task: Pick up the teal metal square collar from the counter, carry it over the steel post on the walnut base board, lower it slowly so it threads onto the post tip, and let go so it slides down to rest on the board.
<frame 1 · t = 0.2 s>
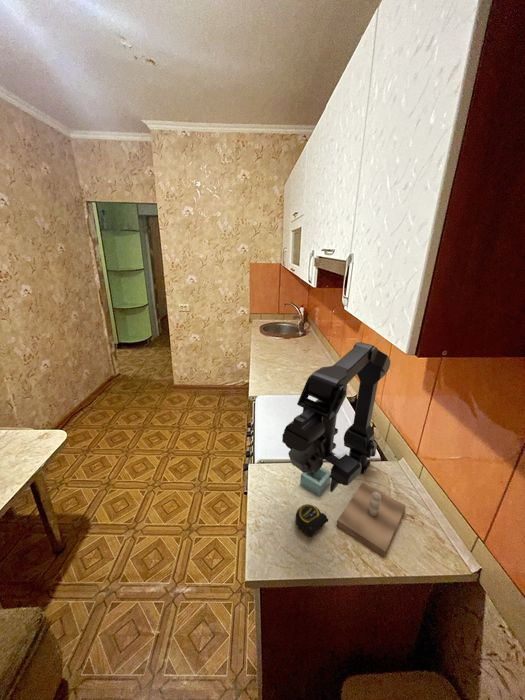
hand: (316, 479, 71), 14 cm above the table, fingers open, 9 cm apart
post board: (371, 518, 77), on the table
tape measure: (311, 526, 75), on the table
collar: (315, 483, 87), on the table
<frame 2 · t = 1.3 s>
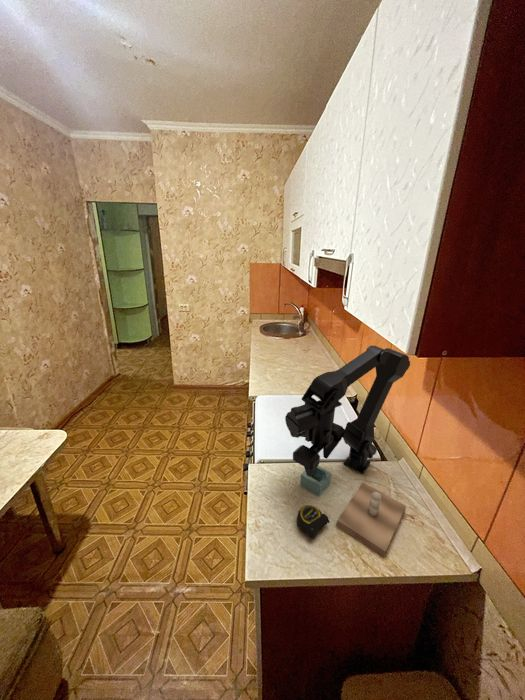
hand: (317, 466, 85), 7 cm above the table, fingers open, 9 cm apart
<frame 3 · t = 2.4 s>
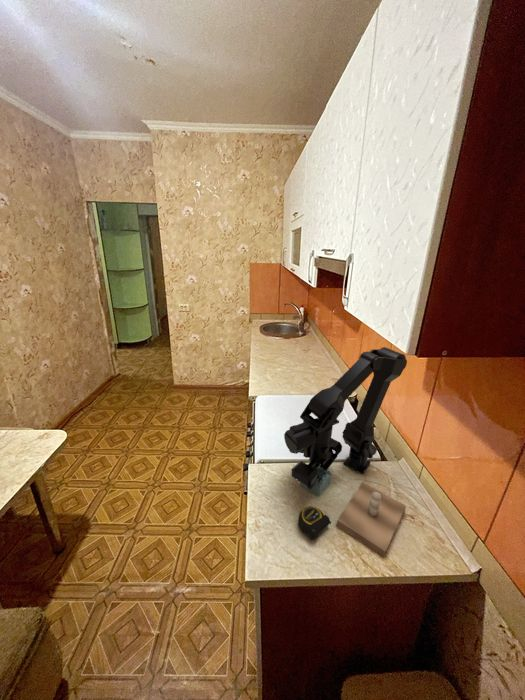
hand: (315, 481, 87), 1 cm above the table, fingers closed on collar, 6 cm apart
collar: (315, 483, 87), on the table, touching gripper
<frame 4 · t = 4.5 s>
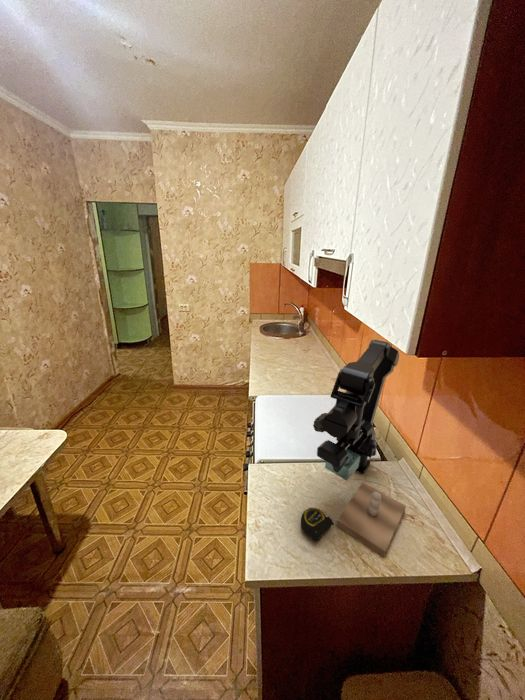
hand: (342, 464, 78), 12 cm above the table, fingers closed on collar, 6 cm apart
collar: (341, 467, 79), point 11 cm above the table, touching gripper
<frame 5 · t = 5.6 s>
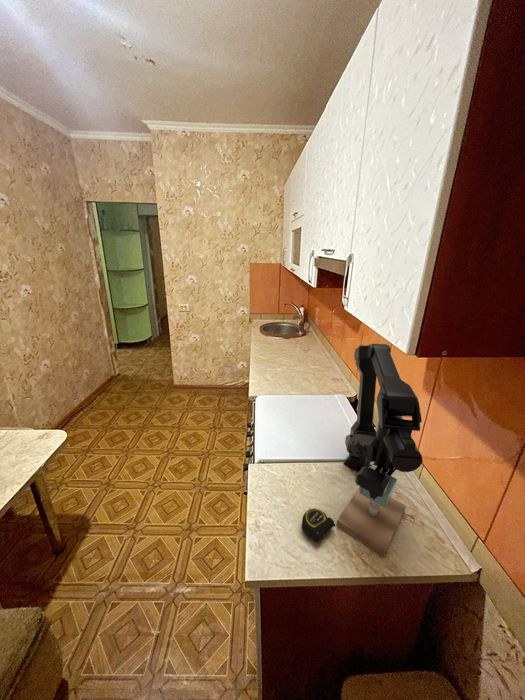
hand: (377, 489, 74), 10 cm above the table, fingers closed on collar, 6 cm apart
collar: (376, 492, 74), point 9 cm above the table, touching gripper
when the fingers open (7 cm above the table, at t = 6.6 s): collar drops 4 cm, resting on post board.
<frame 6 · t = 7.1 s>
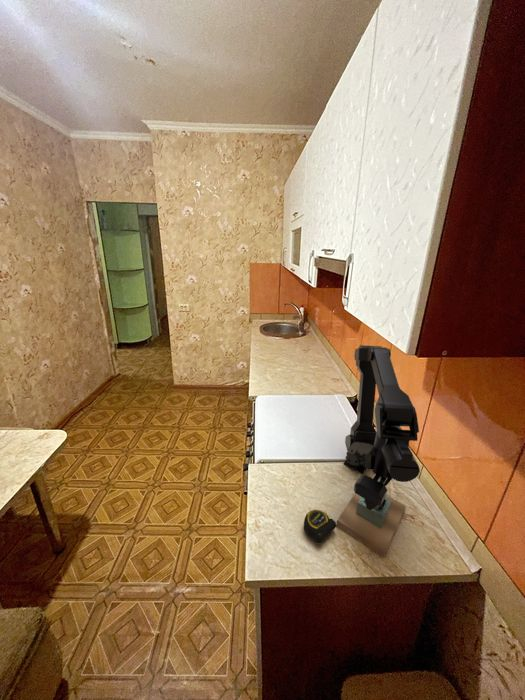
hand: (376, 496, 74), 7 cm above the table, fingers open, 9 cm apart
collar: (372, 512, 77), point 2 cm above the table, touching post board
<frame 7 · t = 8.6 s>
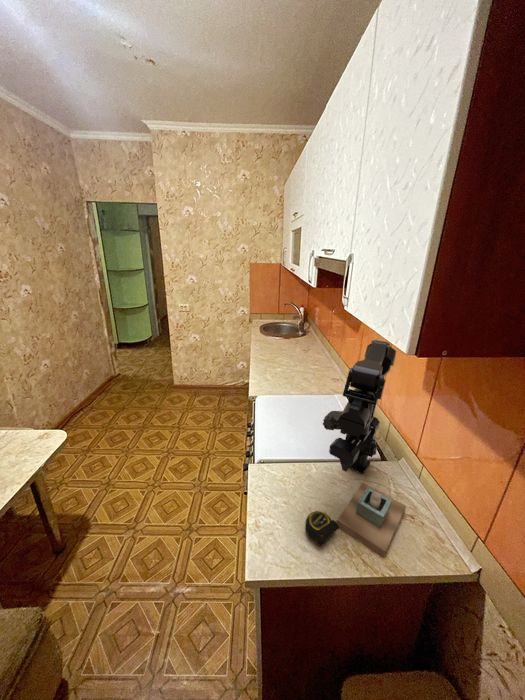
hand: (351, 460, 80), 12 cm above the table, fingers open, 9 cm apart
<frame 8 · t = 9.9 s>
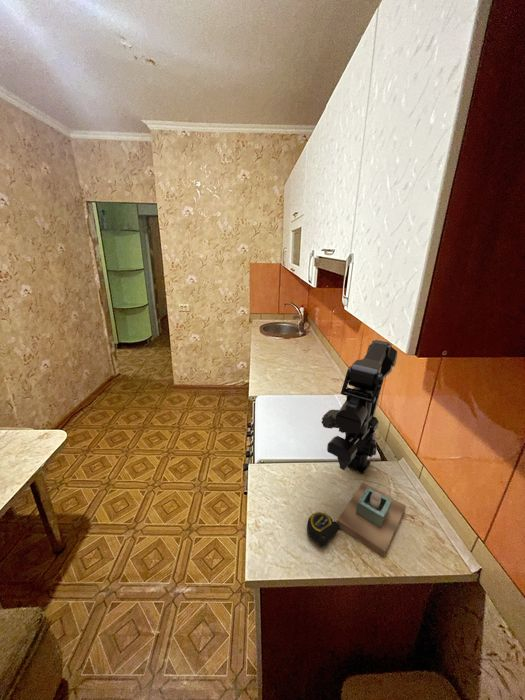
hand: (350, 459, 80), 12 cm above the table, fingers open, 9 cm apart
at the end: collar 0.0 cm off-centre on the post board, point 2.0 cm above the post board's base; the gripper is holding nothing; collar tilted 0° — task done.
